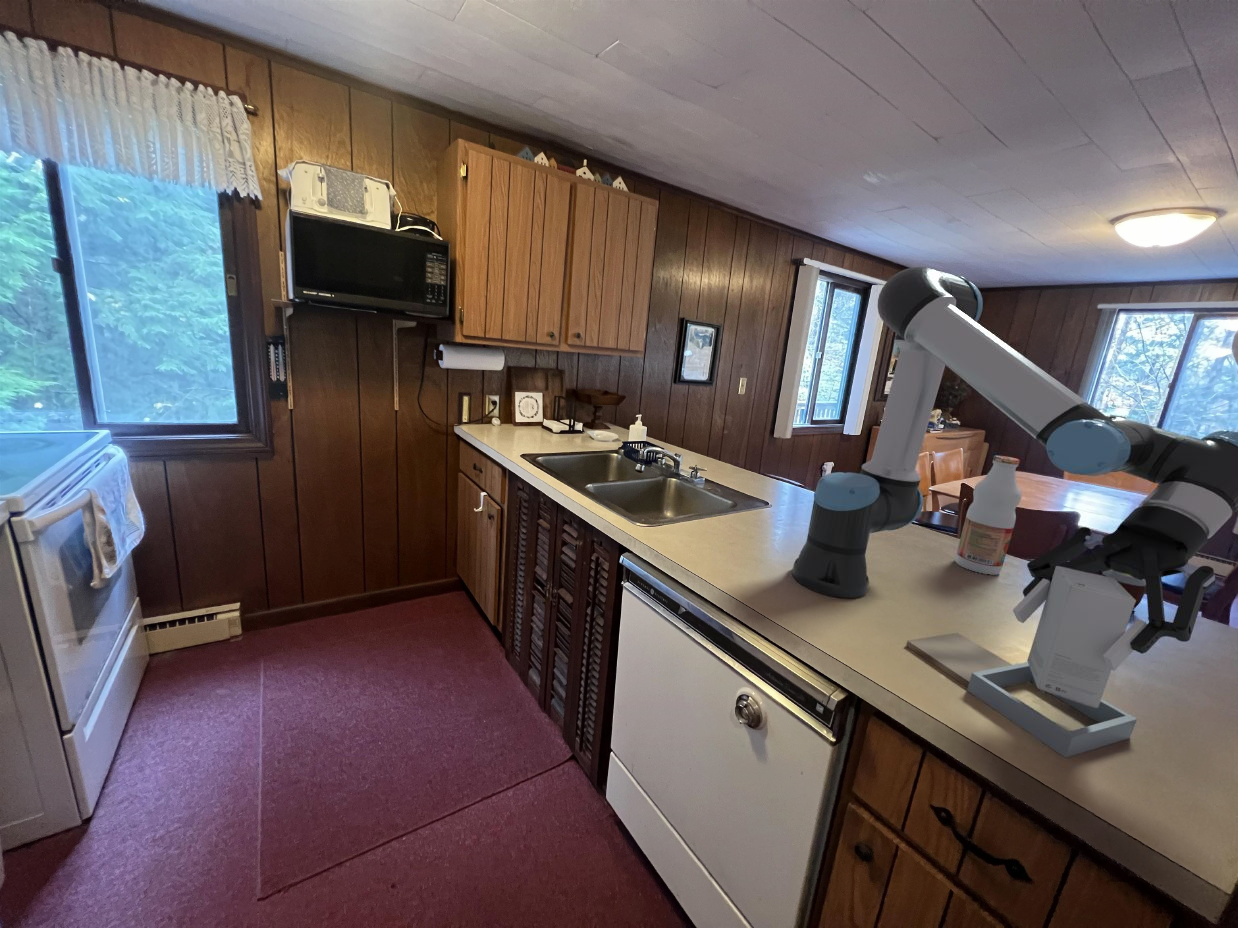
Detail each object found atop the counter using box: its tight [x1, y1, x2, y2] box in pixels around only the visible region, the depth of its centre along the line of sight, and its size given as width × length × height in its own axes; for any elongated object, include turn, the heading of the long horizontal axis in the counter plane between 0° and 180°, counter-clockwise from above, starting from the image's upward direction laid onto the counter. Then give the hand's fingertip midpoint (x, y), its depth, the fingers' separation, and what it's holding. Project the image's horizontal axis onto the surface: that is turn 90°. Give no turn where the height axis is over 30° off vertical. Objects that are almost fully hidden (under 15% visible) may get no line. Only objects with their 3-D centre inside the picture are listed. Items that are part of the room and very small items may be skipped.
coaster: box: [905, 632, 1013, 688], centre depth 80 cm, size 11×12×1 cm
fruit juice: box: [954, 455, 1022, 576], centre depth 117 cm, size 9×9×28 cm
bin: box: [966, 661, 1138, 759], centre depth 68 cm, size 13×14×3 cm
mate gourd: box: [1100, 569, 1147, 614], centre depth 103 cm, size 8×8×15 cm
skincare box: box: [1026, 566, 1136, 708], centre depth 65 cm, size 8×7×16 cm
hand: (1059, 638), depth 65 cm, fingers closed on skincare box, 10 cm apart
